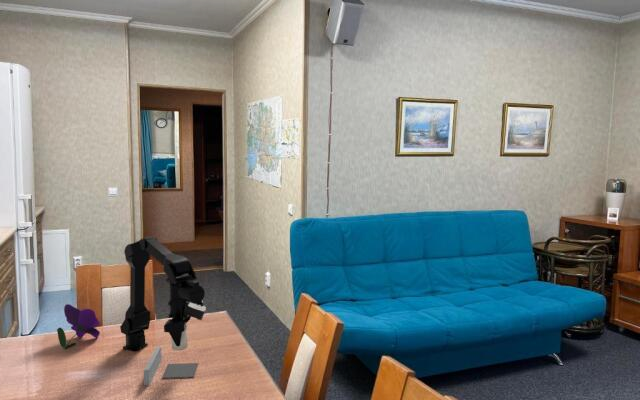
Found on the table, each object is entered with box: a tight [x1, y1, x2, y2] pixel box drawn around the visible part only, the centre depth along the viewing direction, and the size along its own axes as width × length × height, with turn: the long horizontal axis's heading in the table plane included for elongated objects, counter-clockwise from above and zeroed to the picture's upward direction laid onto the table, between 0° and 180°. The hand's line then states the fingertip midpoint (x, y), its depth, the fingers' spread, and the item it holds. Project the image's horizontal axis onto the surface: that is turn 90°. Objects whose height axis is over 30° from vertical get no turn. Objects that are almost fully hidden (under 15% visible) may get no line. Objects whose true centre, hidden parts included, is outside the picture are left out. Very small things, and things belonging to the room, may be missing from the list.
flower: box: [56, 303, 101, 350], centre depth 184 cm, size 15×15×14 cm
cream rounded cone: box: [171, 327, 189, 351], centre depth 163 cm, size 5×5×6 cm
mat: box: [161, 362, 199, 380], centre depth 164 cm, size 10×10×1 cm
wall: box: [143, 346, 162, 386], centre depth 163 cm, size 18×2×5 cm, turn 6°
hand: (179, 342), depth 163 cm, fingers closed on cream rounded cone, 5 cm apart
